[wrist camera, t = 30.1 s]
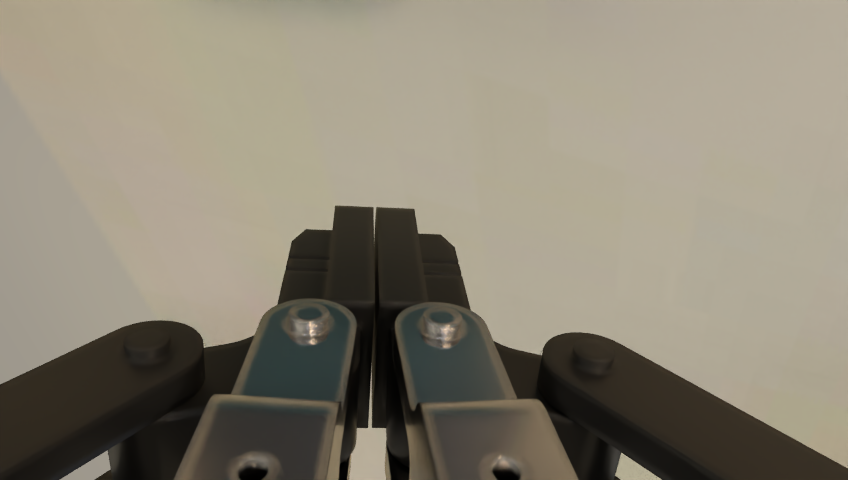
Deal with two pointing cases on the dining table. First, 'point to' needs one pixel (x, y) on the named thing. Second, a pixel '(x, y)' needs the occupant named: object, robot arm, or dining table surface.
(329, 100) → the dining table surface
